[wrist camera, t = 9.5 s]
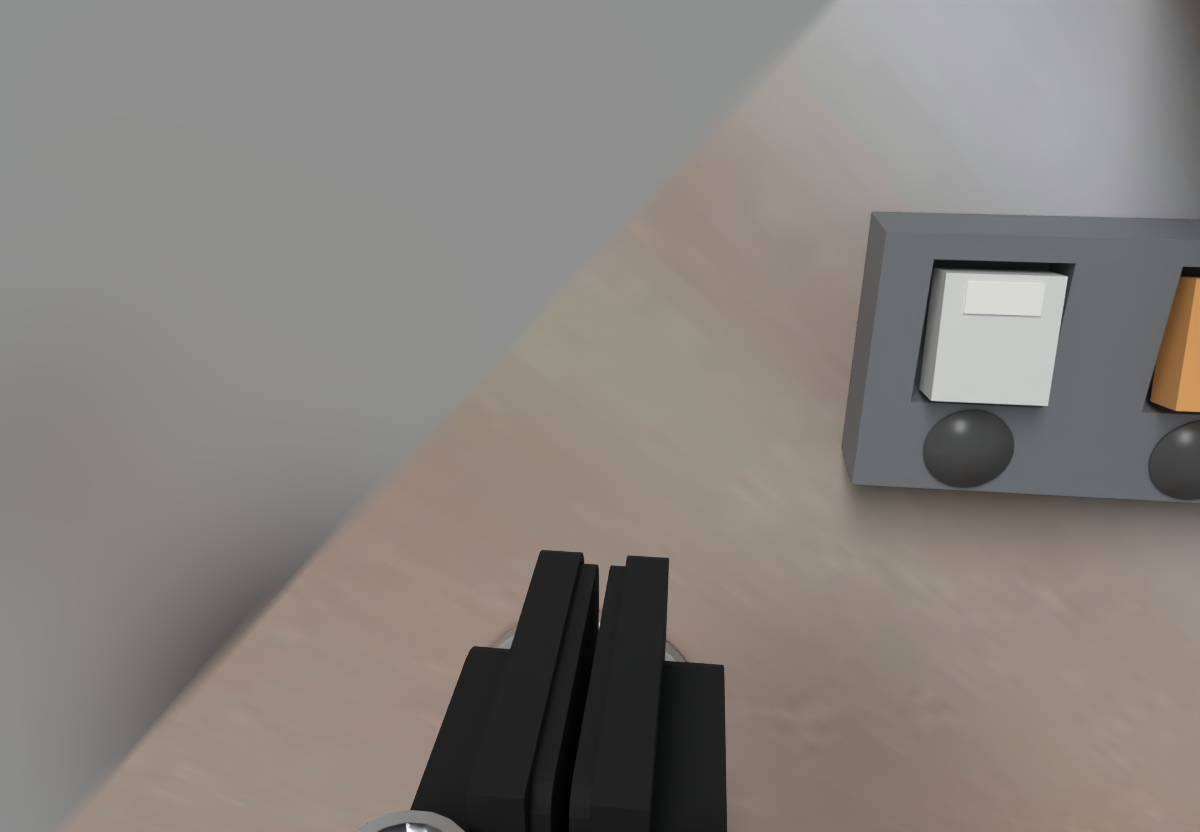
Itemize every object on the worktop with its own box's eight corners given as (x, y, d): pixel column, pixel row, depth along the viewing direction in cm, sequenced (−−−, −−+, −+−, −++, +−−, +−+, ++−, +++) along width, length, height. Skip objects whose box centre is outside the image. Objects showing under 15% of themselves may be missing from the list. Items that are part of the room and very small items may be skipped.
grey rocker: (1029, 393, 37) (1048, 406, 35) (919, 389, 37) (931, 401, 35) (1048, 270, 36) (1069, 276, 34) (933, 267, 36) (947, 273, 34)
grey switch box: (1252, 467, 40) (1300, 510, 37) (841, 447, 42) (852, 486, 39) (1338, 222, 36) (1402, 246, 32) (871, 211, 37) (887, 233, 34)
